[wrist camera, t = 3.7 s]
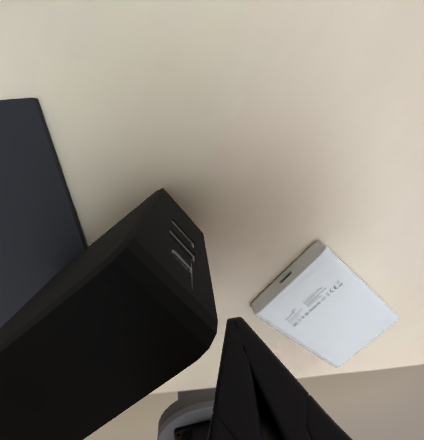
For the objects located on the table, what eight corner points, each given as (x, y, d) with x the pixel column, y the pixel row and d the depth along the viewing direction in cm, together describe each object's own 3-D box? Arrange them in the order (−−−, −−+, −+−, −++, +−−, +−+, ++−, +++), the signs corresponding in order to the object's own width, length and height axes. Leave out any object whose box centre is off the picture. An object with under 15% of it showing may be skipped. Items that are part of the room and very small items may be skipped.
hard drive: (326, 355, 25) (249, 303, 20) (387, 305, 23) (317, 238, 19) (336, 369, 23) (255, 317, 19) (401, 317, 22) (329, 248, 17)
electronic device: (203, 230, 16) (223, 345, 7) (101, 308, 18) (-1, 500, 8) (163, 184, 15) (121, 249, 6) (57, 272, 16) (-126, 448, 7)
